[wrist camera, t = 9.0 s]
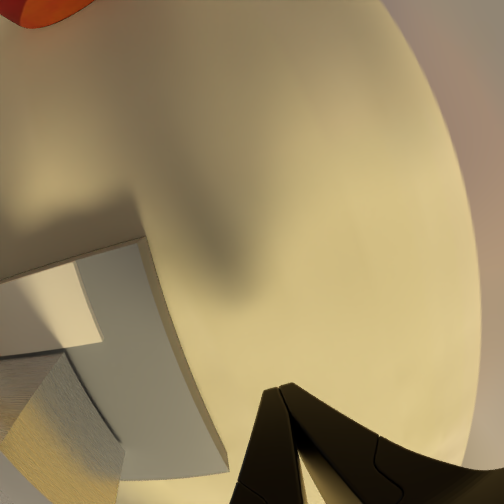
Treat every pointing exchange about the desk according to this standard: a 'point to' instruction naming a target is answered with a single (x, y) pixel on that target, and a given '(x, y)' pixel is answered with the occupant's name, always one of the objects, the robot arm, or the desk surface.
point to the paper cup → (40, 11)
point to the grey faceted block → (53, 437)
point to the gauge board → (117, 355)
